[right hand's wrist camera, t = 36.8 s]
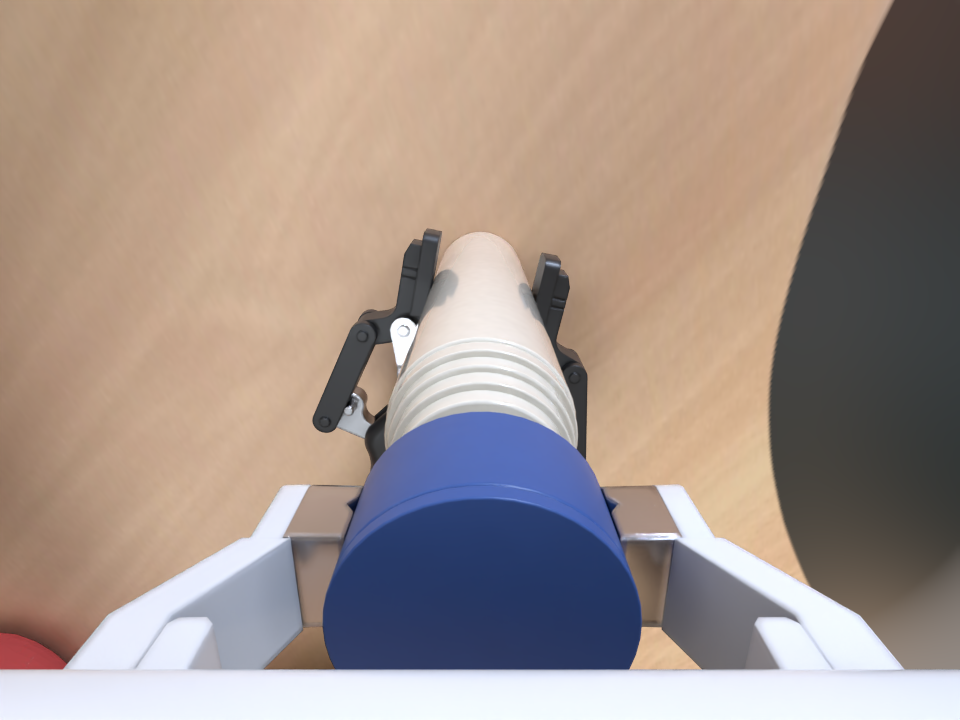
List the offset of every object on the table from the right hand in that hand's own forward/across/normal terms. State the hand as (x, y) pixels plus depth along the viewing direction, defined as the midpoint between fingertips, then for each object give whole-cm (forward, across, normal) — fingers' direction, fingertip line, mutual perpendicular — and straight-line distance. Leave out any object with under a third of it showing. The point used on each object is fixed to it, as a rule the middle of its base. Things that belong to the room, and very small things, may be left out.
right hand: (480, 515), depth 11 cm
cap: (0, 0, 0) cm, 0 cm away
